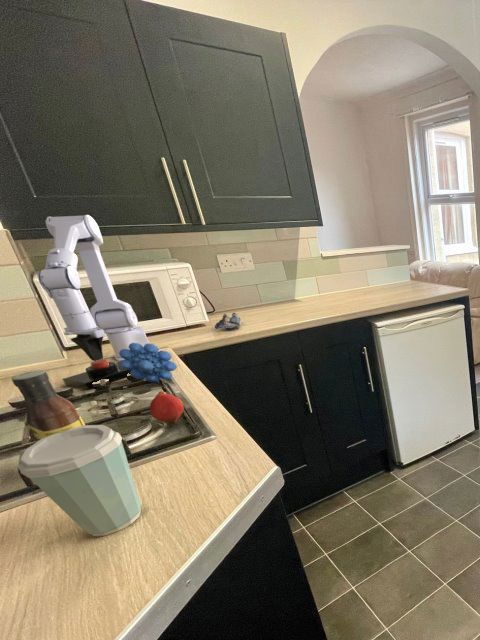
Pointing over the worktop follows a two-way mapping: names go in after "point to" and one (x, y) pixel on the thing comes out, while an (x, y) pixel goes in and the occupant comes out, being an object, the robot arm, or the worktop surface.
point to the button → (99, 364)
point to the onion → (166, 407)
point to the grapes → (147, 362)
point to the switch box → (97, 376)
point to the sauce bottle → (45, 405)
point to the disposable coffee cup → (85, 477)
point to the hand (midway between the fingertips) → (97, 359)
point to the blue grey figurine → (229, 322)
